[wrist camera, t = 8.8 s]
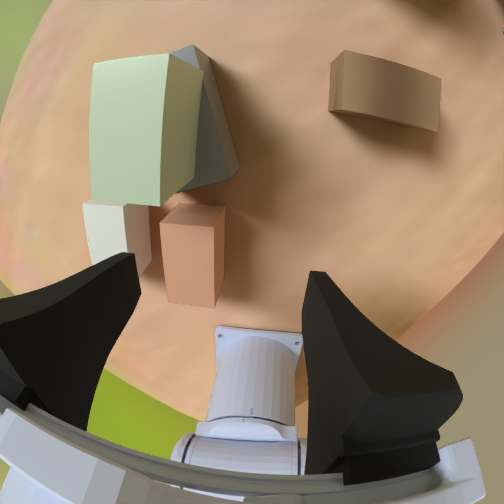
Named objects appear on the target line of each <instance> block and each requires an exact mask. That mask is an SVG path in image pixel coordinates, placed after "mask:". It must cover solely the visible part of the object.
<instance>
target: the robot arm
mask: <svg viewBox="0 0 504 504" xmlns="http://www.w3.org/2000/svg"><path fill="white" fill-rule="evenodd" d="M140 295H141V288H140V283H139V277H138V271H137V265H136V259H135V253H127V252H121V253H118V254H116V255H113V256H111V257H109V258H107V259H105V260H103V261H101V262H99V263H97V264H95V265H93V266H91V267H89V268H87V269H85V270H83V271H81V272H79V273H76V274H74V275H72V276H70V277H68V278H66V279H64V280H62V281H59V282H57V283H54V284H52V285H49V286H47V287H44V288H41V289H38V290H34V291H31V292H28V293H25V294H21V295H17V296H13V297H8V298H2V299H0V458H1V459H2V460H4V461H5V462H6V463H7V464H8V465H10V466H11V468H10V470H9V472H8V475H7V477H6V479H5V482H4V484H3V487H2V489H1V492H0V504H473V503H475V502H477V501H478V500H480V499H482V498H484V497H485V495H486V492H485V487H484V483H483V478H482V474H481V471H480V466H479V463H478V459H477V456H476V452H475V449H474V445H473V443H472V439H471V438H470V437H468V438H466V439H462V440H460V441H457V442H454V443H450V444H448V445H445V446H443V447H441V448H439V449H437V445H436V442H437V441H438V440H439V439H440V434H439V431H438V429H439V428H440V427H441V426H442V425H443V424H444V423H445V422H446V421H447V420H448V419H449V418H450V417H451V416H452V415H453V414H454V413H455V412H456V410H457V409H458V408H459V406H460V404H461V402H462V399H463V394H462V391H461V389H460V387H459V385H458V382H457V380H456V378H455V376H454V373H453V372H451V371H449V370H446V369H444V368H442V367H440V366H438V365H435V364H433V363H431V362H429V361H427V360H425V359H423V358H421V357H420V356H418V355H416V354H414V353H413V352H411V351H410V350H408V349H406V348H405V347H403V346H402V345H400V344H399V343H397V342H396V341H395V340H393V339H392V338H390V337H389V336H388V335H386V334H385V333H384V332H382V331H381V330H380V329H379V328H378V327H377V326H375V325H374V324H373V323H372V322H371V321H370V320H368V319H367V318H366V317H365V316H364V315H363V314H362V313H361V312H360V311H359V310H358V309H357V308H356V307H355V306H354V305H353V304H352V302H351V301H350V300H349V299H348V298H347V297H346V296H345V295H344V294H343V292H342V291H341V290H340V289H339V288H338V286H337V285H336V284H335V283H334V282H333V280H332V279H331V278H330V277H329V276H328V275H327V273H326V272H319V271H310V273H309V278H308V283H307V289H306V293H305V298H304V303H303V308H302V334H300V333H288V332H276V331H264V330H254V329H244V328H235V327H226V326H218V327H216V330H215V339H216V364H217V371H216V376H215V380H214V385H213V389H212V394H211V398H210V403H209V407H208V412H207V416H206V421H205V422H198V424H197V428H196V432H195V433H194V432H188V433H186V434H185V435H184V436H183V437H182V438H181V439H180V440H179V441H178V442H177V444H176V445H175V447H174V449H173V452H172V455H171V459H170V460H169V459H165V458H161V457H157V456H153V455H150V454H146V453H143V452H140V451H137V450H133V449H130V448H127V447H124V446H121V445H118V444H116V443H113V442H110V441H108V440H105V439H103V438H100V437H98V436H95V435H92V434H90V433H88V432H86V431H87V425H88V419H89V414H90V409H91V405H92V402H93V398H94V394H95V391H96V388H97V384H98V381H99V379H100V376H101V373H102V370H103V368H104V365H105V363H106V360H107V358H108V356H109V354H110V352H111V350H112V348H113V346H114V344H115V343H116V341H117V339H118V337H119V336H120V334H121V332H122V331H123V329H124V327H125V326H126V324H127V322H128V320H129V319H130V317H131V315H132V314H133V312H134V310H135V307H136V305H137V303H138V300H139V298H140ZM219 334H221V335H219ZM303 345H304V353H305V360H306V368H307V375H308V387H309V407H308V408H309V410H308V436H307V438H299V440H298V435H297V427H296V426H295V380H294V375H295V371H296V368H297V364H298V361H299V357H300V353H301V350H302V346H303ZM297 440H298V443H297ZM154 480H156V481H154ZM157 481H160V482H163V483H167V484H170V485H166V484H163V483H160V482H157Z"/></svg>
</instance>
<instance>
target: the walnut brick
mask: <svg viewBox="0 0 504 504" xmlns="http://www.w3.org/2000/svg"><path fill="white" fill-rule="evenodd" d="M440 100H441V78H439V77H436V76H434V75H431V74H428V73H426V72H423V71H420V70H417V69H414V68H411V67H408V66H405V65H402V64H399V63H395V62H392V61H388V60H385V59H381V58H377V57H373V56H369V55H365V54H360V53H356V52H351V51H346V50H344V51H343V52H342V53H341V54H340V55H339V56H338V57H337V58H336V59H334V60H333V61H332V62H331V72H330V90H329V105H328V111H334V112H340V113H346V114H352V115H358V116H363V117H368V118H373V119H378V120H382V121H387V122H391V123H395V124H399V125H403V126H407V127H411V128H417V129H423V130H428V131H433V132H438V124H439V114H440Z"/></svg>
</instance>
